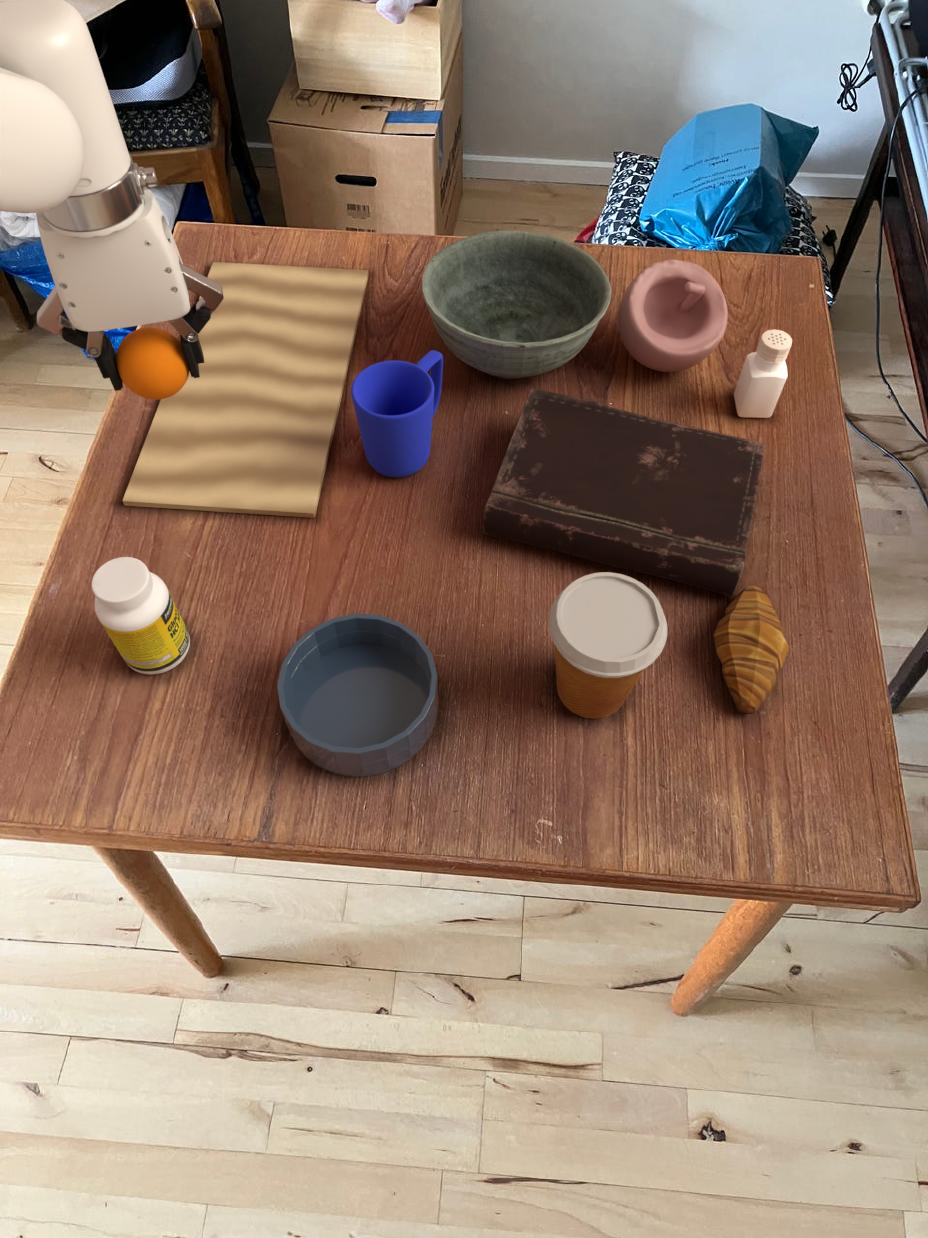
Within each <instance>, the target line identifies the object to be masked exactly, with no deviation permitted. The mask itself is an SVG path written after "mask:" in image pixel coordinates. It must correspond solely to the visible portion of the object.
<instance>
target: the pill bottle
mask: <svg viewBox="0 0 928 1238" xmlns="http://www.w3.org/2000/svg"><path fill="white" fill-rule="evenodd" d="M91 590H92V593H93V594H94V596H95V599H94V612H95V614H96V617H97V619H98V621H99V623H100V624H101V625H102V628H103V629H104V630H105V631H106V633H107V635H108V637H109V638H110V640H111V641H112V643H113V644H114V646H115V649H117V651H118V652H119V654H120V656H121V658H122V659H123V661H124V662H125V663H126V665H127V666H128V667H129V668H131V669H132V670H133V671H135V672H137V673H139V674H144V675H159V674H164V673H166V672H168V671H171V670H172V669H174V668H176V667H177V666H179V664H180V663H182V662H183V660H184V659H185V657H186V656H187V655H188V652H189V650H190V646H191V637H190V633H189V630H188V628H187V626H186V624H185V622H184V620H183V618H182V616H181V614H180V611H179V609H178V608H177V607H178V606H177V605H176V603H175V601H174V599H173V596H172V595H171V592H170V590H169V588H168V586H167V585H166V583H165V582H164V580H163V579H162V578H161V577H160V576H158V575H157V574H156V573H153V572H152V571H151V572H150V570H149V568H148V566H147V565H146V564H145V563H144V561H142V560H140V559H138V558H135V557H130V556H120V557H115V558H112V559H110V560H108V561H106V562H104V563H103V564H102V565H100V567H99V568H98V569H97V570H95V572H94V573H93V577H92V579H91Z"/></svg>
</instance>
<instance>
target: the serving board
mask: <svg viewBox="0 0 928 1238" xmlns="http://www.w3.org/2000/svg"><path fill="white" fill-rule="evenodd" d="M206 277H207V278H208V279H210V280H212V281H214V282H216V283H218V284H219V285H221V286H222V289H223V296H224V298H223V300H222V302H221V303H220V304H219V306H218V307H217V309H216V310H215V311H213V313H212V314H211V318H210V320H209V321H208V322H207V324H206V325H205V326H204V327H203V329H202V330H201V331H200V333H199V334H198V338H199V341H200V345H201V348H202V351H203V356H204V363H200V364H198V366H199V374H200V377H199V378H194V377H191V374H190V371H189V376H188V379H187V381H186V383H185V385H184V386H183V387H182V389H181V390H180V391H179V392H177V393H176V394H174V395H173V396H171V397H168V398H165V399H159V403H158V405H157V408H156V411H155V413H154V416H153V419H152V421H151V424H150V427H149V429H148V432H147V435H146V437H145V439H144V442H143V445H142V447H141V450H140V452H139V456H138V458H137V461H136V463H135V466H134V469H133V472H132V474H131V477H130V479H129V482H128V484H127V487H126V489H125V492H124V495H123V498H122V504H123V505H124V506H125V507H139V508H140V507H141V508H157V509H172V510H187V511H199V512H200V511H203V512H216V513H230V514H231V513H232V514H233V513H234V514H247V515H248V514H249V515H262V516H264V515H265V516H278V517H279V516H280V517H294V518H307V519H308V518H309V519H315V518H316V514H317V509H318V506H319V500H320V496H321V493H322V492H321V491H322V488H323V483H324V480H325V479H324V478H325V475H326V474H325V473H326V470H327V464H328V460H329V456H330V451H331V446H332V444H333V443H332V441H333V439H334V434H335V428H336V425H337V421H338V416H339V412H340V407H341V401H342V398H343V394H344V388H345V384H346V379H347V375H348V371H349V365H350V362H351V357H352V352H353V348H354V343H355V339H356V334H357V329H358V326H359V322H360V321H359V320H360V316H361V312H362V307H363V303H364V298H365V295H366V294H365V293H366V290H367V284H368V282H369V281H368V280H369V270H368V269H355V268H353V269H351V268H334V267H318V266H317V267H315V266H297V265H279V264H263V263H262V264H261V263H260V264H259V263H245V262H243V263H242V262H241V263H239V262H226V261H225V262H223V261H212V264H211V266H210V269H209V272H208V274H207V276H206ZM200 298H201V296H199V298H198V300H199V299H200Z"/></svg>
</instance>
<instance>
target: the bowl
mask: <svg viewBox="0 0 928 1238" xmlns="http://www.w3.org/2000/svg"><path fill="white" fill-rule="evenodd" d="M610 282H611V281H610V278H609V277H608V275H607V273H606V271H605V270H604V268H603V267H602V265H601V264H600V263H599V261H597V260H596V259H595V258H594V257H593V256H592V255H591V254H589V253H588V252H586V251H585V250H583V249H582V248H581V247H580V246H576V245H575V244H572V243H570V242H568V241H566V240H564V239H561V238H558V237H555V236H552V235H548V234H544V233H538V232H533V231H532V232H531V231H523V230H522V231H521V230H494V231H492V230H491V231H486V232H480V233H474V234H471V235H468V236H465V237H463V238H461V239H458V240H456V241H453V242H451V243H450V244H447V245H445V246H443V247H442V248H441V249H440V250H438V252H436V253H435V254H434V255H433V256H432V258H431V259H430V260H429V262H428V263H427V264H426V266H425V268H424V272H423V274H422V278H421V294H422V297H423V301H424V302H425V305H426V307H427V309H428V311H429V314H430V318H431V320H432V322H433V324H434V327H435V330H436V331H437V333H438V335H439V336H440V338H441V340H442V341H443V343H444V344H445V346H447V348H448V349H449V350H450V351H451V353H452V354H454V356H455V357H456V358H458V359H459V360H461V362H463V363H465V364H466V365H468V366H470V367H472V368H474V369H475V370H478V371H480V372H483V373H486V374H487V375H489V376H492V377H495V378H500V379H506V380H518V379H520V380H521V379H525V378H529V377H535V376H539V375H542V374H546V373H549V372H550V371H553V370H556V369H559V368H561V367H562V366H564V365H565V364H567V363H568V362H569V361H571V360H572V359H573V358H575V357H576V356H577V355H578V354H579V353H580V352H581V351H582V350H583V349H584V347H585V346H586V345H587V343H588V342H589V340H590V339H591V338H592V336H593V334H594V333H595V331H596V329H597V327H598V325H599V323H600V321H601V320H602V319H603V317H604V316H605V314H606V312H607V310H608V308H609V306H610V305H611V298H612V297H611V296H612V287H611V283H610Z"/></svg>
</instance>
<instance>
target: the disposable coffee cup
mask: <svg viewBox="0 0 928 1238" xmlns="http://www.w3.org/2000/svg"><path fill="white" fill-rule="evenodd" d="M548 616H549V617H548V629H549V633H550V637H551V640H552V642H553V643H554V645H553V647H554V658H555V660H554V661H555V676H556V691H557V695H558V698H559V700H560V701H561V703H562V704H563V706H565V709H567V710H568V711H570V712H571V713H572V714H575V715H577V716H578V717H582V718H584V719H594V720H595V719H603V718H606V717H609V716H611V715H613V714H615V713H616V712H617V711H618V710H619V709H621V707H622V706H623V704H624V703H625V701H626V699H627V698H628V696H629V695H630V693H631V691H632V690H633V689H634V687H635V685H636V684H637V682H638V681H639V680H640V678H641V677H642V675H643V673H644V672H645V670H646V668H648V667H649V666H650V665H652V664H653V663H654V662H655V661H656V660H657V659H658V657H659V656H660V655H661V654H662V652H663V650H664V648H665V646H666V643H667V639H668V623H667V618H666V616H665V613H664V610H663V608H662V604H661V602H660V601H659V599H658V597H657V596H656V595H655V593H654V592H653V591H652V590H651V589H650V588H649V587H648V586H646V585H645V584H644V583H642V582H641V581H638V580H637V579H635V578H633V577H631V576H628V575H626V574H622V573H617V572H611V571H607V572H606V571H605V572H604V571H603V572H593V573H589V574H586V575H584V576H581V577H579V578H577V579H575V580H574V581H572V582H570V584H568V585H567V586H566V587H565V588H564V589H562V591H560V592H559V594H558V595H557V596H556V597H555V599H554V600H553V602H552V604H551V608H550V610H549V615H548Z"/></svg>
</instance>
